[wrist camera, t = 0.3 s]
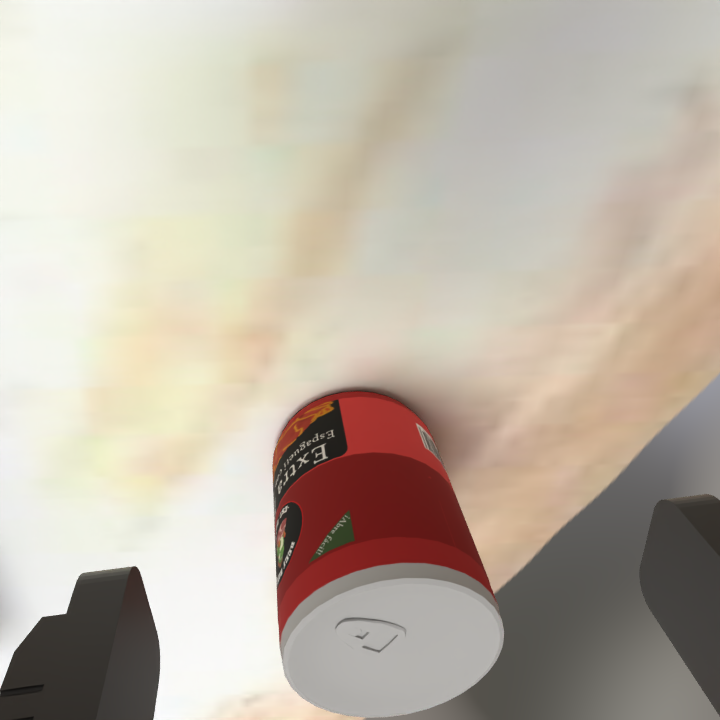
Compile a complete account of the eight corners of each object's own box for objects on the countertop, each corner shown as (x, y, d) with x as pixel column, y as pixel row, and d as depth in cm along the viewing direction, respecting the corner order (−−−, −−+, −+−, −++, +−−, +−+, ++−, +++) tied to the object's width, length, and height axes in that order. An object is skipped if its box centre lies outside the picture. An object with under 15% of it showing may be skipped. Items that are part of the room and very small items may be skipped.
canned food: (302, 367, 28) (327, 561, 19) (459, 408, 31) (548, 598, 22) (250, 493, 32) (249, 710, 22) (395, 521, 34) (449, 728, 25)
